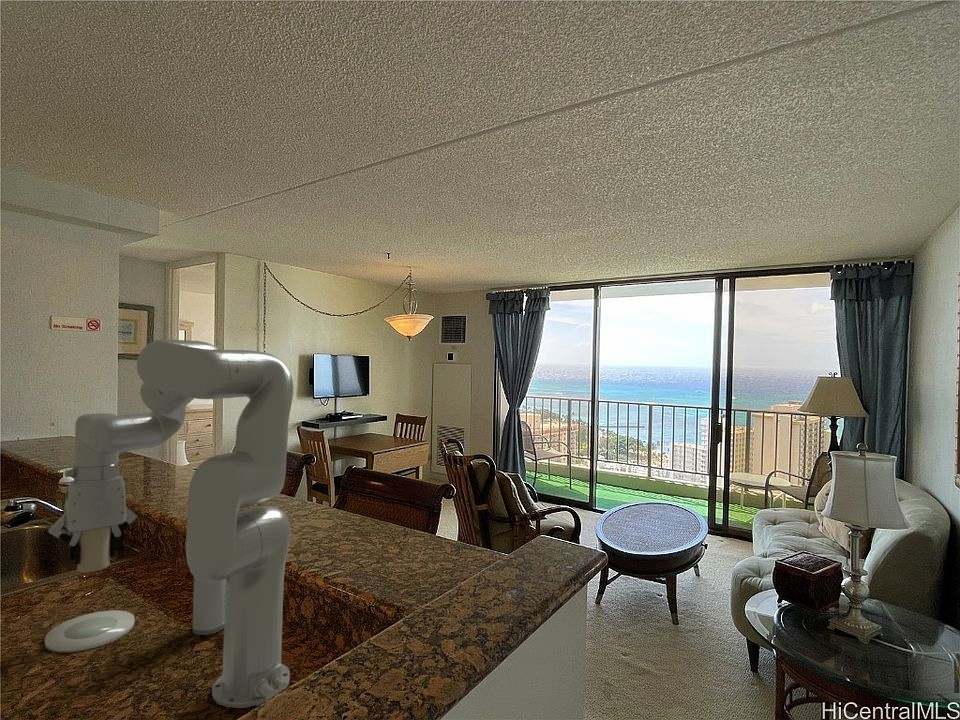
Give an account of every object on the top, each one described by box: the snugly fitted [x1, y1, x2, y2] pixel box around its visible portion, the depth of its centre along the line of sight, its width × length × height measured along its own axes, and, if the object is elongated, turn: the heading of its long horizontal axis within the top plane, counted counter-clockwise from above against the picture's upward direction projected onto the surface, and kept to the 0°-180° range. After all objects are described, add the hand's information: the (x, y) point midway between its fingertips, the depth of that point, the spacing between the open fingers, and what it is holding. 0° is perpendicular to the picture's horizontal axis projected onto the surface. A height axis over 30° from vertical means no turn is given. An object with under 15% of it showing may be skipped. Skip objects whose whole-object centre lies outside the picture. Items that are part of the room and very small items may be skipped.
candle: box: [76, 526, 111, 573], centre depth 108 cm, size 6×6×10 cm
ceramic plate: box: [44, 609, 136, 653], centre depth 108 cm, size 15×15×1 cm
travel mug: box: [192, 576, 228, 636], centre depth 111 cm, size 6×7×20 cm
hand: (93, 558), depth 108 cm, fingers closed on candle, 5 cm apart
